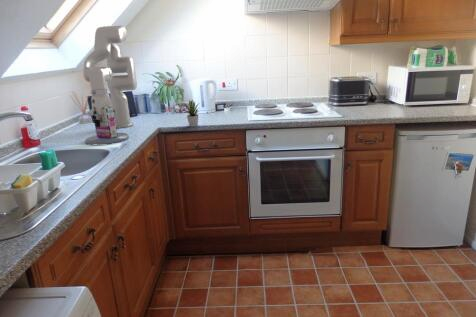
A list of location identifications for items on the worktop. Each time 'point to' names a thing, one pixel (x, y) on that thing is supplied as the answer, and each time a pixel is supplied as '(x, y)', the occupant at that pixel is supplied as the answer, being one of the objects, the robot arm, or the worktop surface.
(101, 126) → the candy bar box
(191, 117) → the house plant
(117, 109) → the robot arm
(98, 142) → the plate
